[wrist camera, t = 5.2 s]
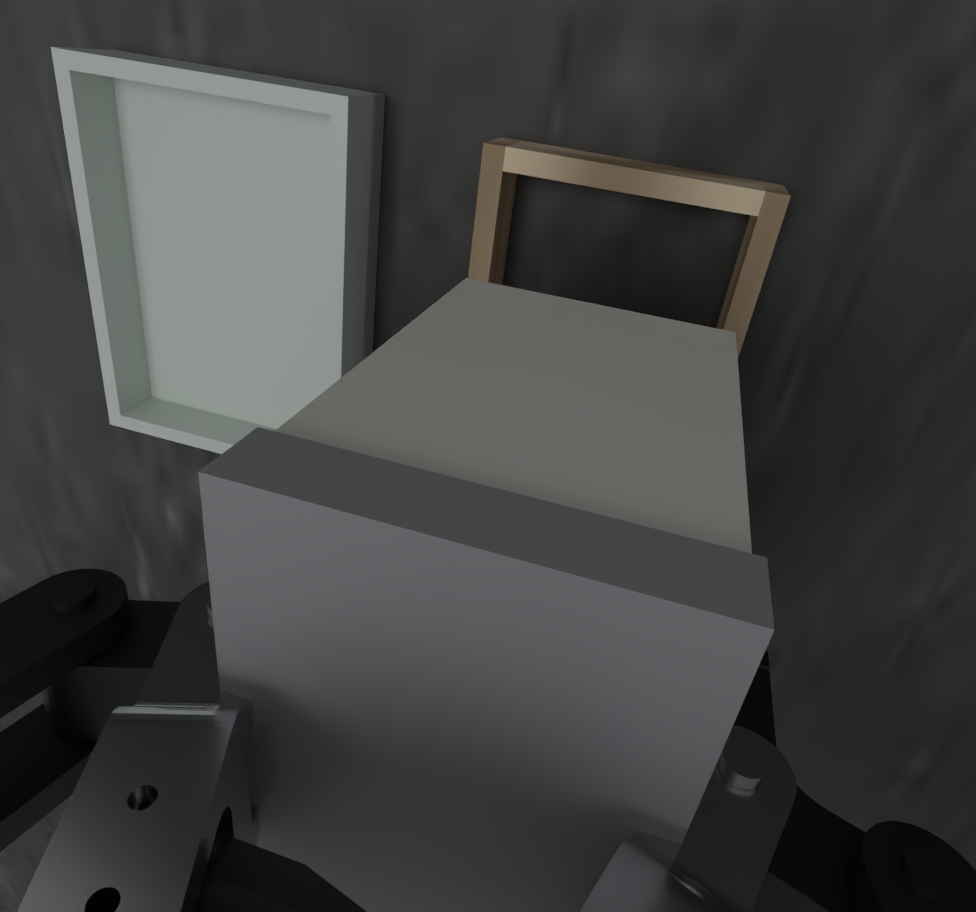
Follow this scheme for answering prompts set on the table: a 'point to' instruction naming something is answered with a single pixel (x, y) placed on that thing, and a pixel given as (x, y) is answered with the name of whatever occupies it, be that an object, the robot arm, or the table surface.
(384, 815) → the gray rectangular box
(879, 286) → the table surface
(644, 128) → the table surface
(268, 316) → the tray
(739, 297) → the holder
